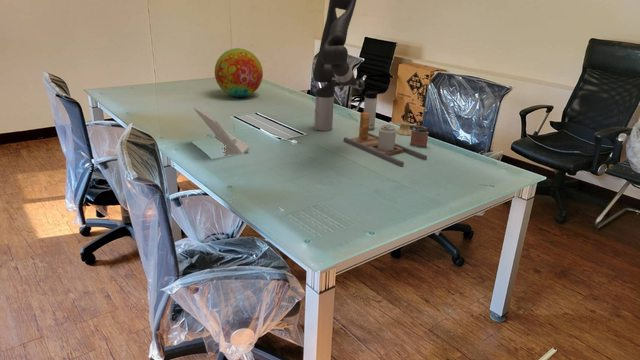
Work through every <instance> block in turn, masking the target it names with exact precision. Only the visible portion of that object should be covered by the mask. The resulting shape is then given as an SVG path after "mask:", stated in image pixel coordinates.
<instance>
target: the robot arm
mask: <svg viewBox="0 0 640 360" xmlns="http://www.w3.org/2000/svg"><path fill="white" fill-rule="evenodd" d="M356 3H357V0H329V1H328V7H327V13H326V19H325V24H324V26H323V31H322V35H321V40H320V45H319V50H318V54H317V56H316V57H317V58H316V59H315V60H316V61H315V63H314V67H313V72H312V73H313V74H312V75H313V80H314V82H316V83H326V84H324V85H323V86H321V87H318V88H317V89H316V90H315V104H314V105H315V107H314V108H315V109H314V117H313V118H314V119H313V121H314V123H313V127H314V130H315V131H317V130H318V131H321V132H322V131H323V132H324V131H325V132H326V131H332V130H333V126H334V125H333V124H334V123H333V122H334V121H333V120H334V104H335V101H334V100H335V90H336V87H337V88H338V89H339V90H340V91H344V87H351V88H353V89H357V90H358V92H359V93H362V91H363V90H365V86H366V82H365V81H364V79H363V77H359V79H357V78H356V77H355V73H354V71H353V70H352V67H351V65H349V62H348V55H349V54H348V53H349V52H348V48H347V47H346V46H345V45H346V41H347V36H348V30H349V27H350V24H351V21H352V18H353V15H354V12H355V7H356ZM337 9H338V10H344V12H343V13H342V14H341V15H340V16H338V15H337Z"/></svg>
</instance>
